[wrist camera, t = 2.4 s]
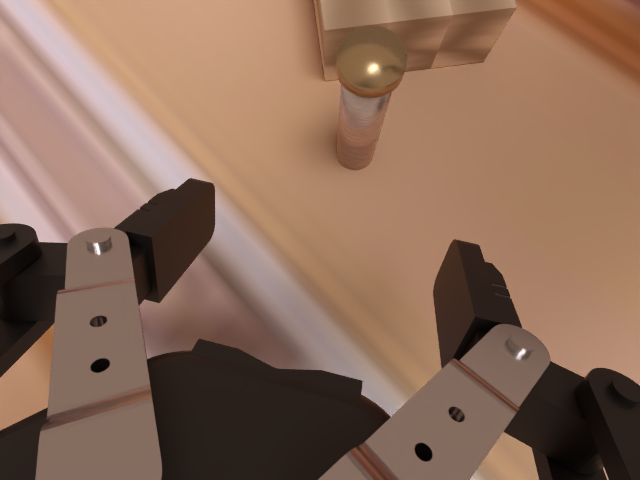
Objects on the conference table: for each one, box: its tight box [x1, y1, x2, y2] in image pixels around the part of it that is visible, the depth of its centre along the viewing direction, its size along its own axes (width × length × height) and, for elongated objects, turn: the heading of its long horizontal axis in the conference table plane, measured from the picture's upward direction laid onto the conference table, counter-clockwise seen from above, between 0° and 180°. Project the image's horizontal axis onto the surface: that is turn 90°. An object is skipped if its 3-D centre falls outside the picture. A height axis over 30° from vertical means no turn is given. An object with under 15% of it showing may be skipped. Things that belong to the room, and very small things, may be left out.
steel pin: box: [336, 26, 408, 170], centre depth 22 cm, size 3×3×10 cm
